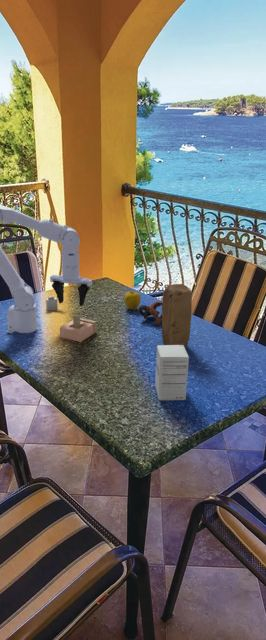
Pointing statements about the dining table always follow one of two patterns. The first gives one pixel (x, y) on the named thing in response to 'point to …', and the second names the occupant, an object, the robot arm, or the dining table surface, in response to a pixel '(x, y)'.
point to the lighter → (51, 303)
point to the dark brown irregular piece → (151, 311)
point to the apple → (132, 300)
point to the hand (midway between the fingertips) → (71, 303)
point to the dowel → (76, 321)
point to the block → (176, 314)
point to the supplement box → (171, 372)
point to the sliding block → (76, 331)
